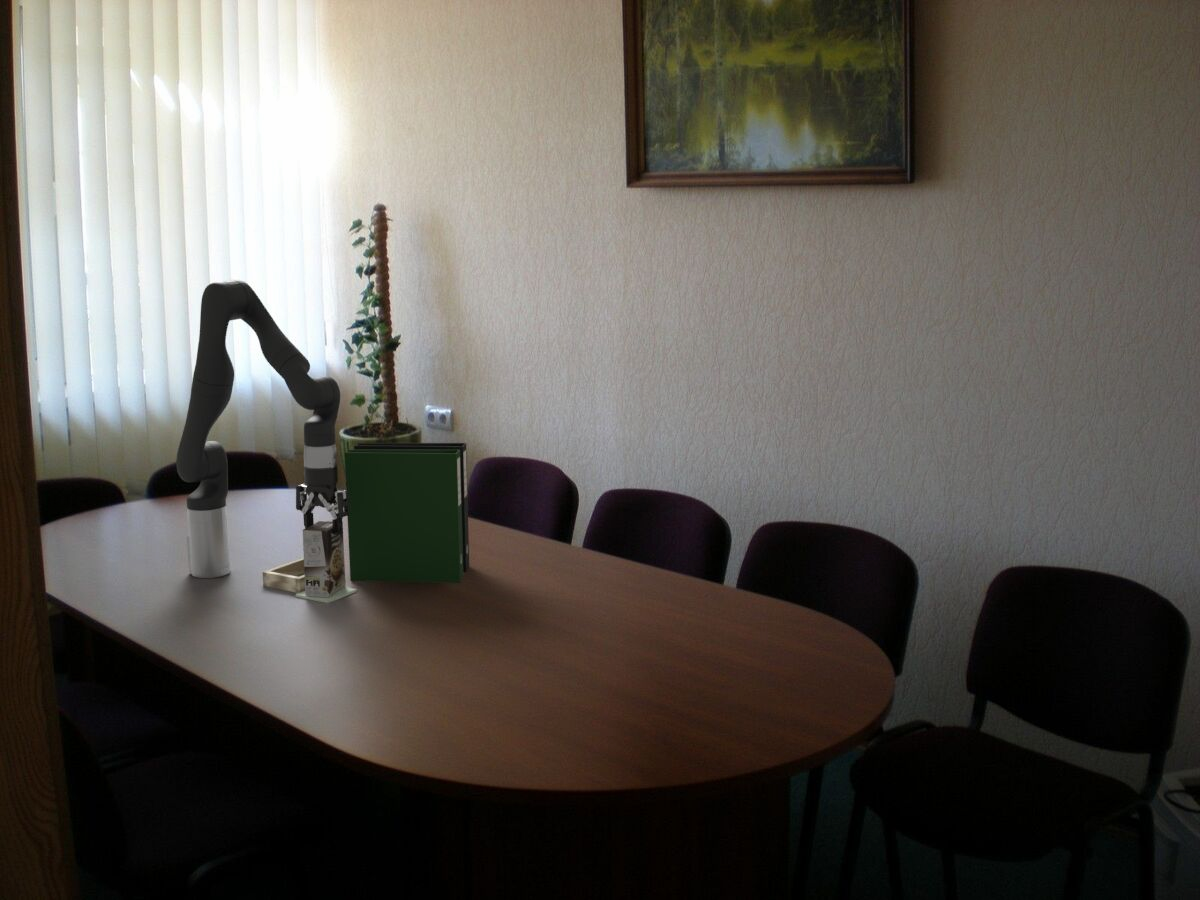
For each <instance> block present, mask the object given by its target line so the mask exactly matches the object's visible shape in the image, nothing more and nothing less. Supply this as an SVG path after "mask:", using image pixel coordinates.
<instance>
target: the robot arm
mask: <svg viewBox="0 0 1200 900" xmlns="http://www.w3.org/2000/svg"><path fill="white" fill-rule="evenodd" d="M199 316H200V319H199V336H198V344H197V345H198V346H197V351H196V358H195V359H196V360H195V366H194V370H193V371H194V372H193V374H192V376H193V377H192V381H191V382H192V383H191V387H190V388H191V389H190V396H189V397H190V398H189V404H188V407H187V408H188V409H187V414H186V419H185V424H184V428H183V430H182V434H181V438H180V441H179V445H178V448H177V449H178V450H177V453H176V463H175V464H176V465H175V466H176V472H177V474H178V476H179V478H180V479H181V480H182V481H184V482H186V483H198V482H200V484H199V486H198V487H197V488H195V490H194V491H192V492H191V493H190V494H189V495H188V496H187V498H186V511H187V524H188V526H187V527H188V536H186V548H187V549H186V550H187V565H188V574H191V576H192V577H194V578H197V579H212V578H213V579H214V578H219V577H223V576H226V575H228V574H230V573H231V561H230V560H231V559H230V543H229V542H230V541H229V527H228V515H227V514H228V512H227V497H228V493H229V473H228V472H229V468H228V466H229V464H228V457H227V452H226V450H225V448H224V446H223V444H221V443H220V442H218V441H216V440H209V441H208V440H207V439H208V436H209V433H210V431H211V429H212V428H213V426H214V424H215V423H216V422H217V421H218V419H219V418H220V416H221V415H222V414H223V413H224V411H225V409H226V408H227V406H228V404H229V403H230V401H231V398H232V394H233V393H232V392H233V387H234V382H235V381H234V380H235V369H234V365H233V363H232V360H231V358H230V355H229V353H228V350H227V343H226V338H227V331H228V327H229V323H230V321H235V320H242V321H243V322H244V323H245V324H246V325H248V326H249V327H250V328H251V329H252V330H253V331H254V333H255V335H256V336H257V339H258V342H259V345H260V350H261V352H262V355H263V357H264V359H265V360H266V362H267V363H268V364H269V366H271V368H273V370H275V371H276V373H277V374H278V375H279V376H280V377H281V378H282V379H283V380H284V382H285V384H286V386H287V388H288V390H289V392H290V394H291V395H292V398H293V399H294V400H295V402H296V403H297V404H298V405H299V406H300V407H302V408H303V409H305V410H309V411H312V416H311V417H310V418H308V419H307V420H306V421H305V422H304V424H303V443H304V446H303V469H304V470H303V475H304V483H302V484H299V485H296V487H295V510H296V511H301V513H302V514H303V525H304V529H305V528H307V527H309V526H311V525H313V524H315V522H314V512H313V511H314V509H315V508H316V507H321V508H325V509H326V511H327V512H329V513H330V515H331V517H332V519H331V521H332V523H333V534H335V535H337V534H340V533H341V531H342V530H343V531H344V526H343V527H342V522H343V519H344V518H345V517H348V515H349V514H350V512H349V500H348V492H347V491H346V489H344V490H338V489H337V483H338V482H339V472H338V469H339V468H338V450H337V446H336V427H335V426H336V422H337V418H338V414H339V409H340V404H341V390H340V387H339V385H338V383H337V381H336V379H334V378H333V377H331V376H327V375H325V376H324V375H322V376H318V377H313V378H312V377H311V376H310V375H309V371H310V369H311V364H310V362H309V360H308V359H307V358H306V356H305V355H304V354H303V353H302V352H301V351H300V350H299V349H298V348H297V347H296V346H295V345H294V344H293V343H292V341H290V340H289V338H288V337H287V336H286V335H285V333H284V332H283V331H282V329H280V327H279V326H278V324H277V323H276V321H275V320H274V319H273V316H272V315H271V314H270V312H269V311H268V310H267V308H266V306H265V305H264V303H263V302H262V300H261V299H260V298H259V296H258V295H257V293H256V292H255V291H254V289H253V288H252V287H251V285H249V283H247V282H246V281H244V280H241V279H227V280H220V281H215V282H211V283H209V284H208V285H206V287H205V289H204V291H203V293H202V296H201V301H200V315H199Z"/></svg>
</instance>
